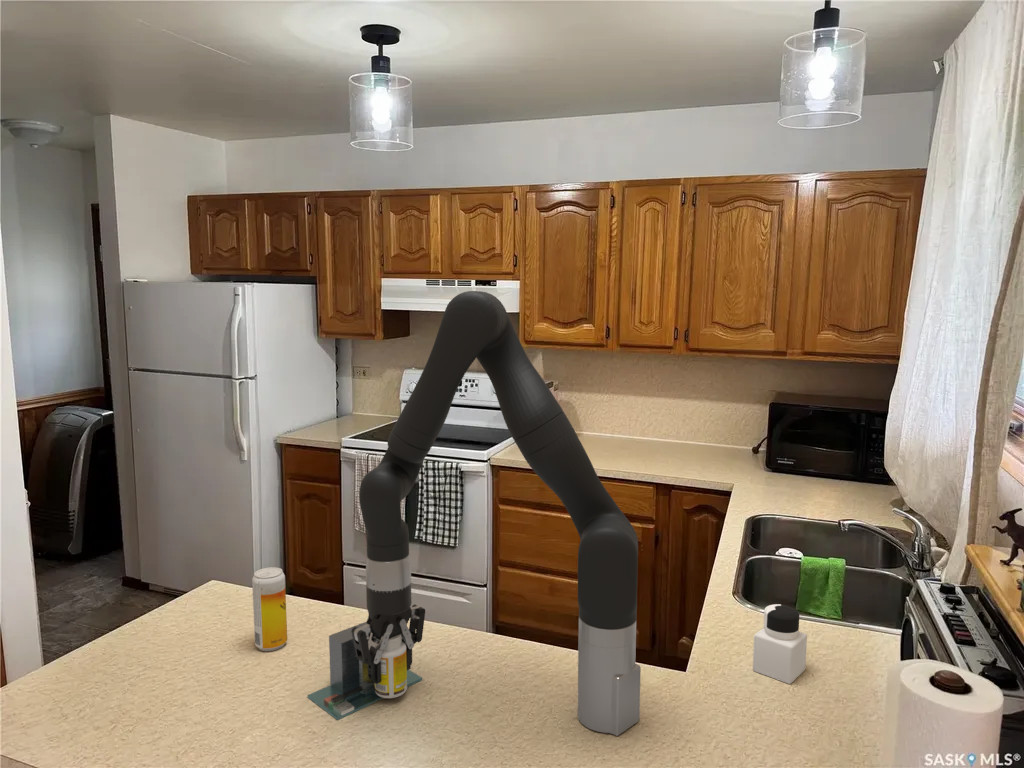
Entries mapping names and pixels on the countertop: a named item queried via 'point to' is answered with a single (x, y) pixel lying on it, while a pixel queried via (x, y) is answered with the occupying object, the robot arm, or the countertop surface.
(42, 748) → the countertop surface
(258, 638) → the beer can
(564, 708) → the countertop surface
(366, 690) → the grey plate with rod
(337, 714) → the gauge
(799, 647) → the medicine bottle
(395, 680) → the supplement bottle
